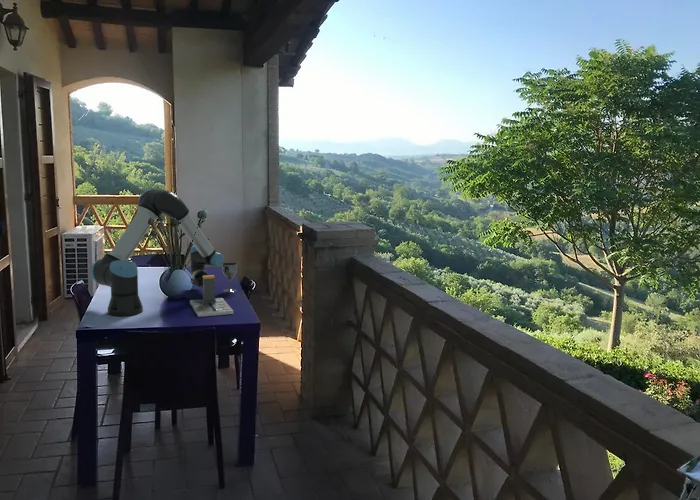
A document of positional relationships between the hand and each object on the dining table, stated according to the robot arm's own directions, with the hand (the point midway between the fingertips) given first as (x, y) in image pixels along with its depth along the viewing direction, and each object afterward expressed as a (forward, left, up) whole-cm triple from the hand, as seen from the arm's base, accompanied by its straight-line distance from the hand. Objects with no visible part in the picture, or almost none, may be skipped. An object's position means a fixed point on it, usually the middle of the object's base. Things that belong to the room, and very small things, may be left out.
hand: (208, 287), depth 281 cm
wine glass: (+15, +24, -9) cm, 30 cm away
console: (-1, -10, -8) cm, 13 cm away
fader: (-1, -5, -6) cm, 8 cm away
